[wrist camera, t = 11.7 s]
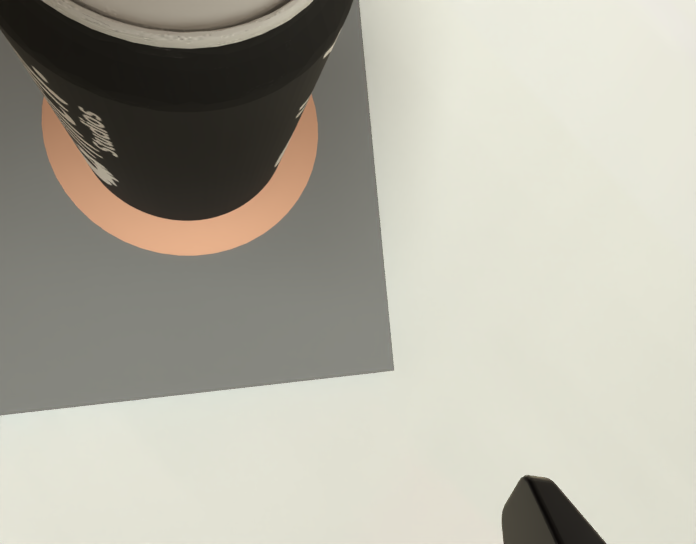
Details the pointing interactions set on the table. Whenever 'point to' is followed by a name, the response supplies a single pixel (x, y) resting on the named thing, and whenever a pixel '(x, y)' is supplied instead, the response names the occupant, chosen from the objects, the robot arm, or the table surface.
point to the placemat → (189, 262)
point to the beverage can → (177, 89)
